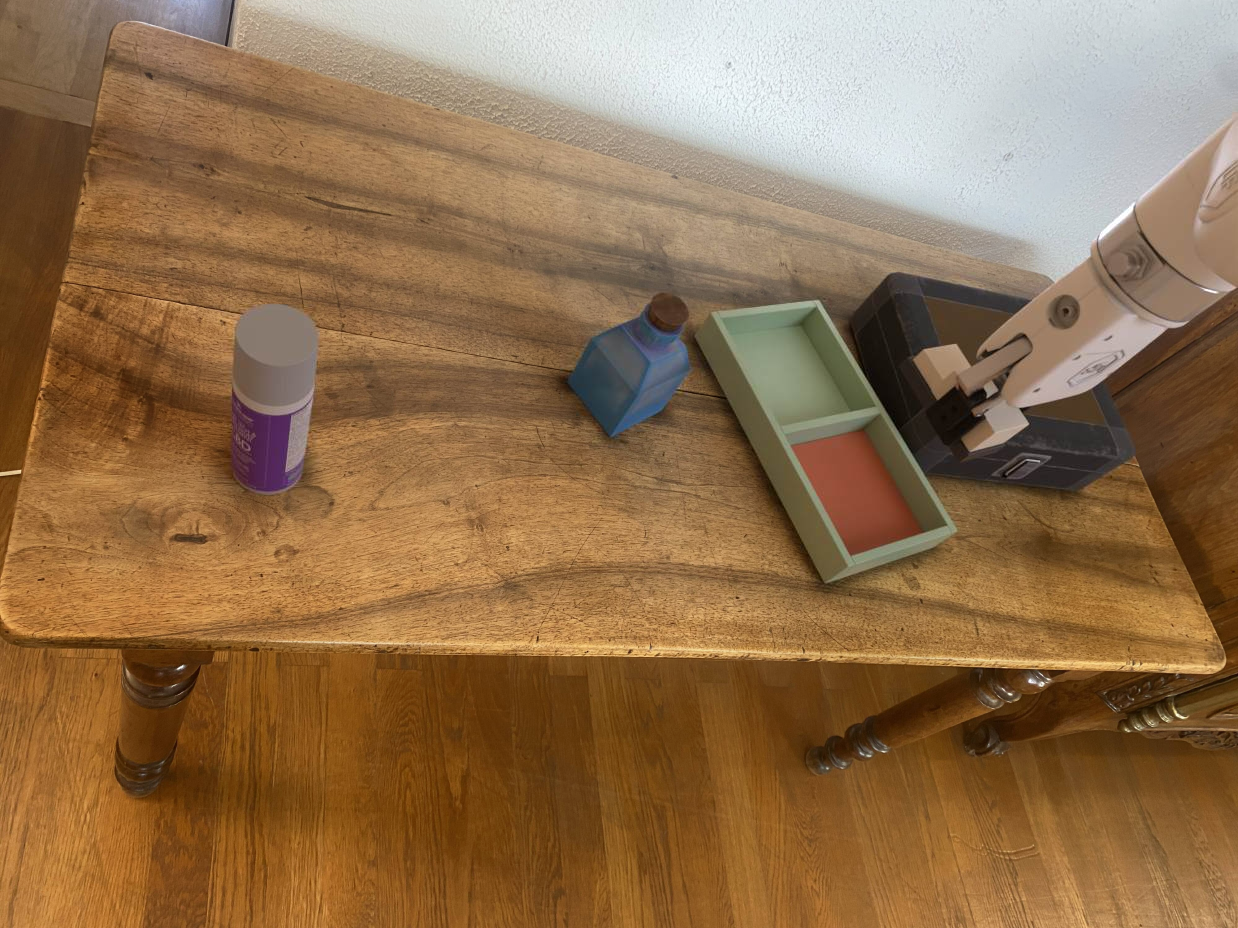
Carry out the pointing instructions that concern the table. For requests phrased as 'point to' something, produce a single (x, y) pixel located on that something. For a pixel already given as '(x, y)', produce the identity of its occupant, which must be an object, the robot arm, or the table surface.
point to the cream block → (937, 376)
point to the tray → (823, 437)
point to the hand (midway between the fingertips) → (961, 422)
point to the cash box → (956, 314)
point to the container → (272, 396)
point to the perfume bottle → (634, 365)
